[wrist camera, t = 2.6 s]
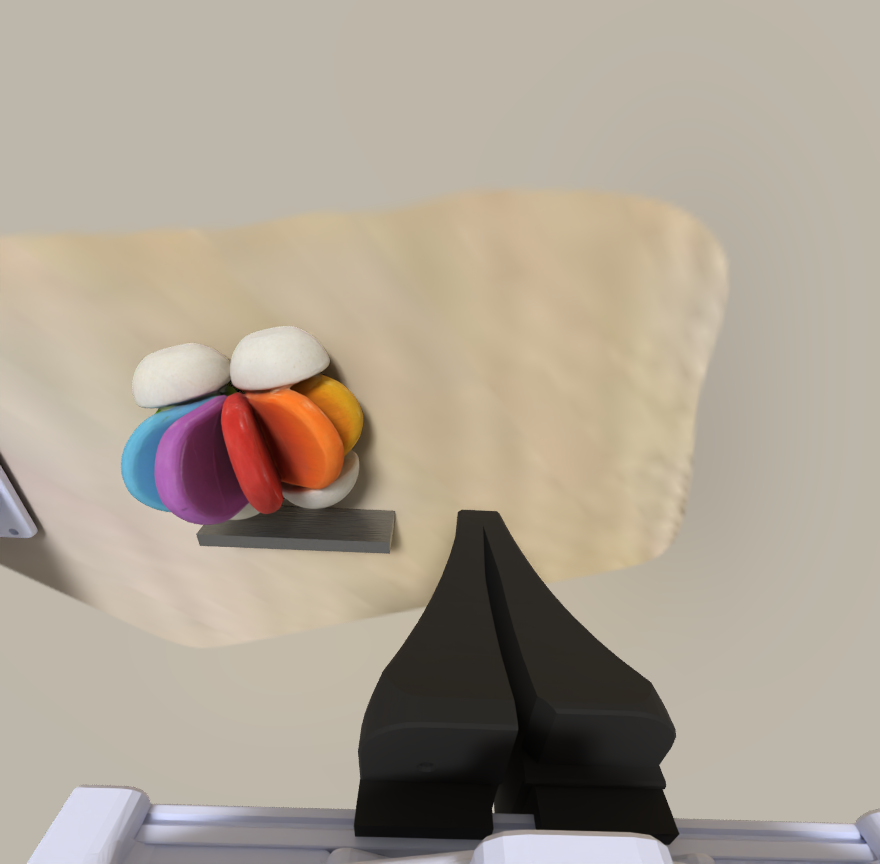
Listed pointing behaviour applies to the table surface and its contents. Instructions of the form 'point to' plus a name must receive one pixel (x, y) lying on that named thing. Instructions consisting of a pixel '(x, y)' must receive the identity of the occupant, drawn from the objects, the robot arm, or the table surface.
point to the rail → (306, 530)
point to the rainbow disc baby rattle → (242, 429)
